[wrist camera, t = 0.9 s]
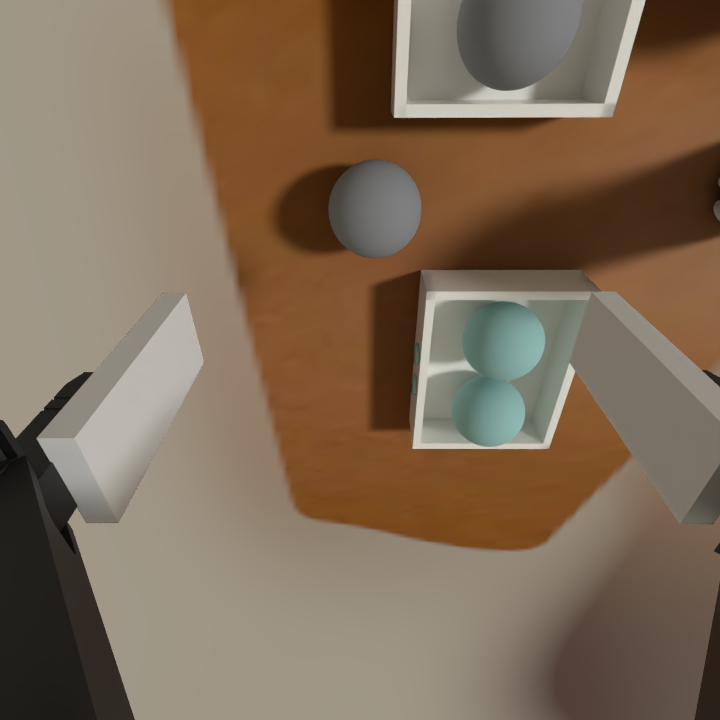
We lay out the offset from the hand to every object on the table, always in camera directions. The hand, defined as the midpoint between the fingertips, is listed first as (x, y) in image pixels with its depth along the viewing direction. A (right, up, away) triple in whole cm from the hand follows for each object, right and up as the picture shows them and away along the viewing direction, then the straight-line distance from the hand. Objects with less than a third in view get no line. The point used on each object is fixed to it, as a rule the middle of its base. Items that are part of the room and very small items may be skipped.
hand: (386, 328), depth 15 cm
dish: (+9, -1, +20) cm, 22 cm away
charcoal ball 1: (0, +9, +13) cm, 16 cm away
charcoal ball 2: (+6, +16, +8) cm, 19 cm away
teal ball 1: (+9, +2, +18) cm, 20 cm away
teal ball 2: (+9, -3, +22) cm, 24 cm away
